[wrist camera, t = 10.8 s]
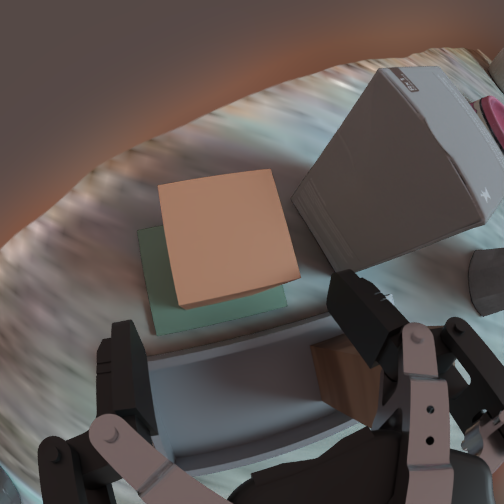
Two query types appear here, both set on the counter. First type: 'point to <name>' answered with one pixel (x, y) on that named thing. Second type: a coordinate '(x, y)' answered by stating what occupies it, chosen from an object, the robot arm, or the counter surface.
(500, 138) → the dog bowl
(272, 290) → the green mat
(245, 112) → the counter surface
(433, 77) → the skincare box
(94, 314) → the counter surface
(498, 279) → the coffeepot
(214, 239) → the terracotta carton
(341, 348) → the walnut block
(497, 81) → the canister
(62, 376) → the counter surface
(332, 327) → the grey bin
